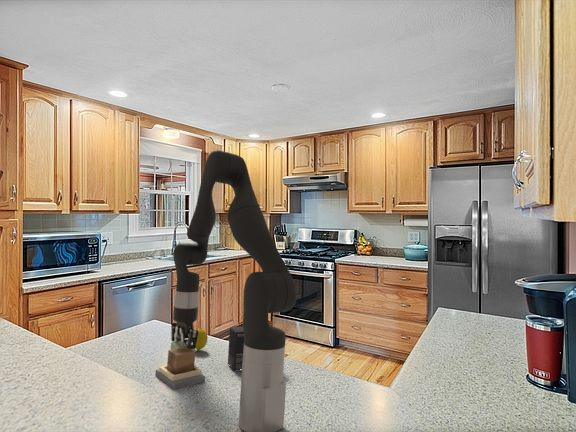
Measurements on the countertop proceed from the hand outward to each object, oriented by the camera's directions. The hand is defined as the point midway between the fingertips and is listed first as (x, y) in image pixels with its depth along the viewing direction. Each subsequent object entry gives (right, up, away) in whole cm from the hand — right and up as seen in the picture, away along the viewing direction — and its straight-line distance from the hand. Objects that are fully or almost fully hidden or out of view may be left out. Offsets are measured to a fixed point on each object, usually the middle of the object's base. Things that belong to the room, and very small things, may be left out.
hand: (181, 359), depth 112 cm
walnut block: (+3, +1, -12) cm, 12 cm away
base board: (+3, 0, -12) cm, 13 cm away
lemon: (+2, -3, +13) cm, 13 cm away
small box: (+21, -3, +1) cm, 22 cm away
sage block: (0, -1, 0) cm, 1 cm away
